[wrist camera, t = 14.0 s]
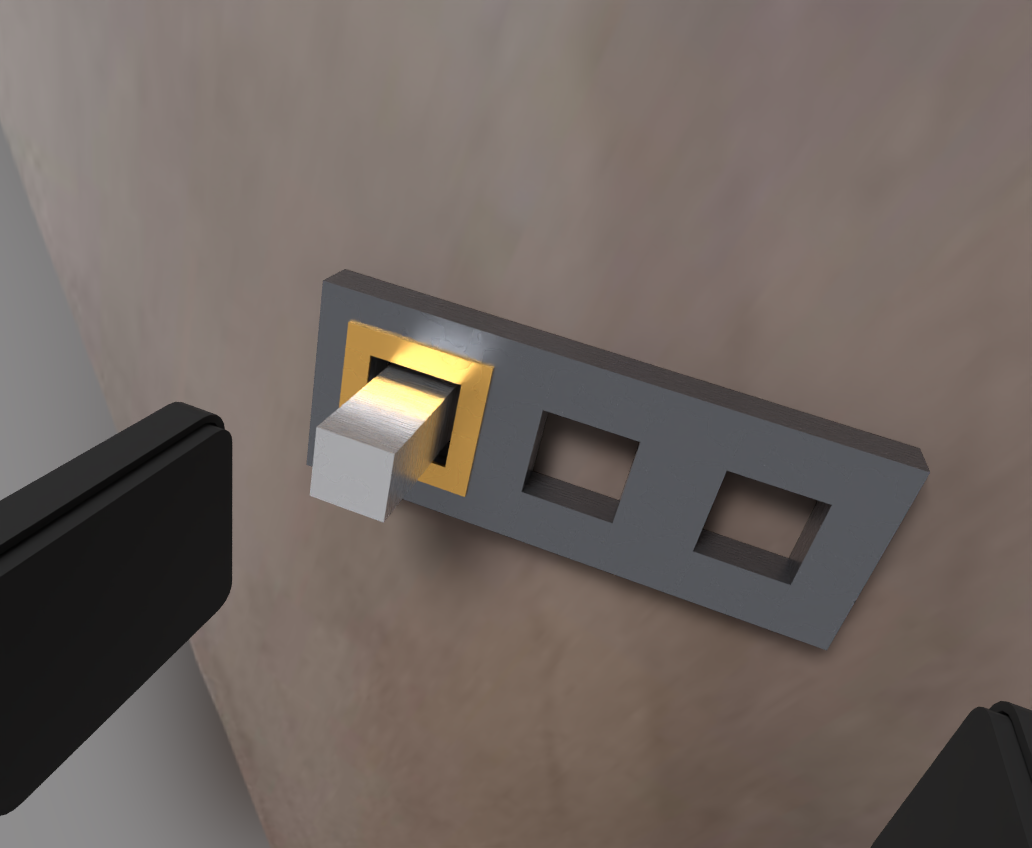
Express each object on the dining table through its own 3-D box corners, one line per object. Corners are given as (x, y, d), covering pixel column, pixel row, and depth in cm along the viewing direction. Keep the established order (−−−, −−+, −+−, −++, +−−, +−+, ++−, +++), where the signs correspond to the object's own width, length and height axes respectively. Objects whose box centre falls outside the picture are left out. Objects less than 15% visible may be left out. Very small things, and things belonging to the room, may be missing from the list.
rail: (919, 448, 38) (930, 474, 35) (823, 620, 44) (827, 652, 41) (345, 269, 42) (321, 281, 40) (326, 446, 48) (304, 466, 46)
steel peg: (466, 374, 43) (394, 454, 34) (454, 433, 45) (383, 522, 36) (402, 354, 44) (316, 426, 35) (393, 412, 46) (309, 495, 37)
